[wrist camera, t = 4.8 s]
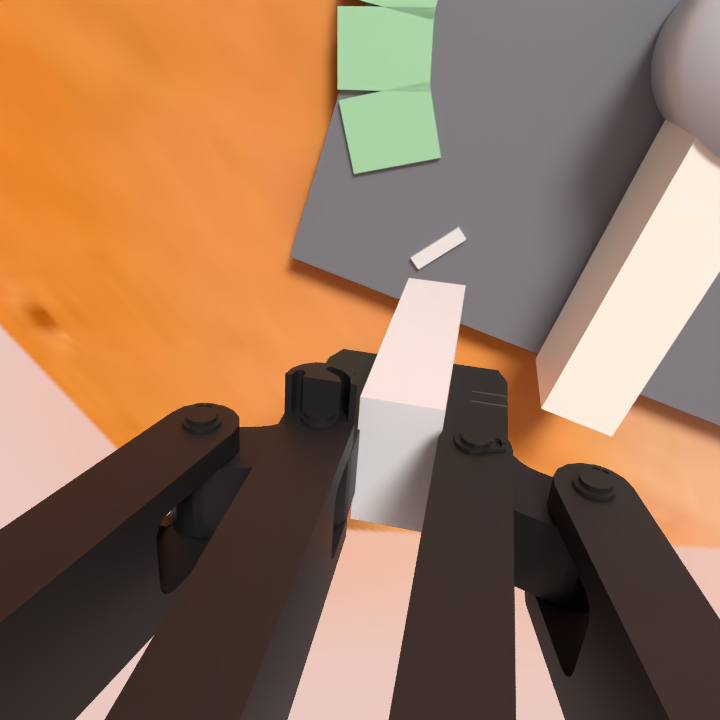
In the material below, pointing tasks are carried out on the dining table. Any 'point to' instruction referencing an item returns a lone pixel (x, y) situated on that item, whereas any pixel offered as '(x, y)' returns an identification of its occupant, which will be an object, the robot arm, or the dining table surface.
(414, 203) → the dial board
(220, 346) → the dining table surface
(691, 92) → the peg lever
